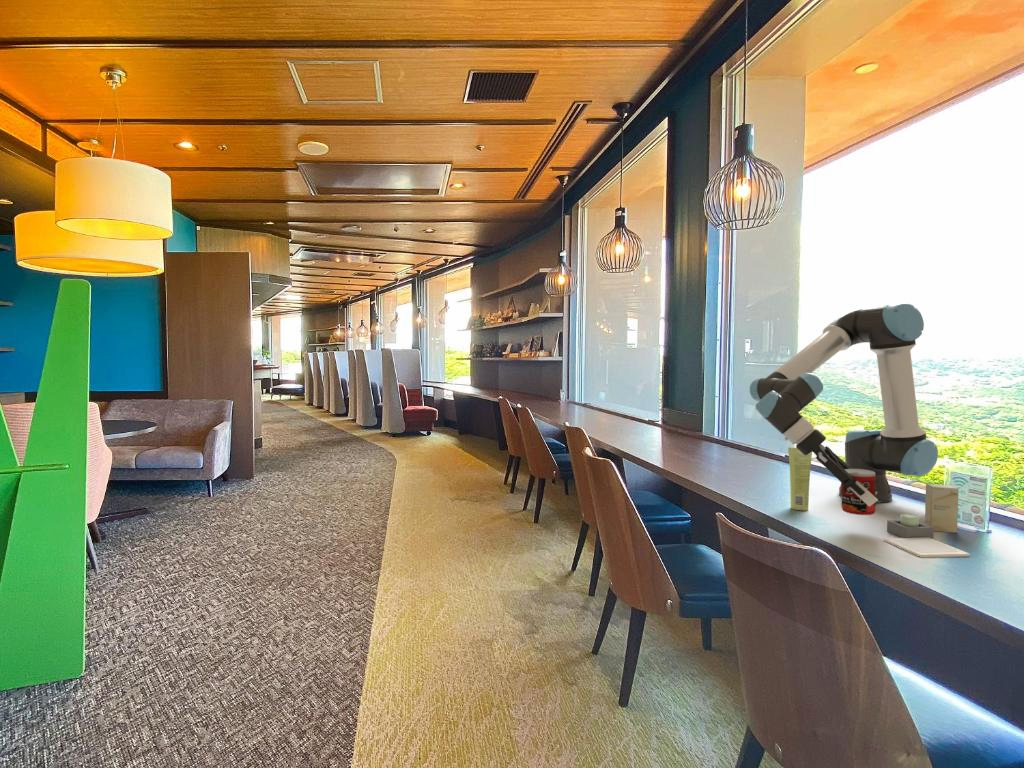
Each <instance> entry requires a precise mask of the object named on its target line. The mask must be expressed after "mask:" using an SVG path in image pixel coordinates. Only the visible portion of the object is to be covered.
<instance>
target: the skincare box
mask: <svg viewBox="0 0 1024 768" xmlns="http://www.w3.org/2000/svg"><path fill="white" fill-rule="evenodd" d="M924 505H925V506H924V509H925V510H924V524H925V525H927V526H930V527H933V532H946V533H958V518H959V517H958V516H959V511H958V510H959V488H958V487H957V486H954V485H952V484H939V483H938V484H935V483H925V504H924Z"/></svg>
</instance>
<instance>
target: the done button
mask: <svg viewBox="0 0 1024 768" xmlns="http://www.w3.org/2000/svg"><path fill="white" fill-rule="evenodd" d="M899 520H900V524H901V525H904V526H906V527H919V523H920V517H919V516H917V515H913V514H904V513H903V514H900V518H899Z"/></svg>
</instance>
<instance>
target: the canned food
mask: <svg viewBox="0 0 1024 768" xmlns="http://www.w3.org/2000/svg"><path fill="white" fill-rule="evenodd" d="M845 470H846V471H847V472H848V473H849V474H850V475H851V477H852V478H853V479H855V480H856V481H858V482H859V483H860V484H861V485H862V486H863V487H865V488H866V489H867V490H868V491H869V492H870V493H871V494H872V495H873V496H874V497H876V474H875V472H873V471H870V470H864V469H845ZM840 485H841V495H842V496H841V509H842V511H843V512H846V513H847V514H852V515H858V516H859V515H860V516H871V515H874V514H875V512H876V511H877V509H876V508H877V507H876V506H877V502H875V503H874V504H872V505H871V506H870V507H869V506H868V505H867V504H866V503H865V502H864V501H863V500H861V499H860V498H859V497H858V496H857V495H856V494H855V493H854V492H853V491H852V490H851V489H850V488H847V489H845V488H844V487H845V486H844V485H843V484H842V483H841V482H840Z"/></svg>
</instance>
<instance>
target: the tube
mask: <svg viewBox="0 0 1024 768" xmlns="http://www.w3.org/2000/svg"><path fill="white" fill-rule="evenodd" d="M787 450H788V459H789V460H788V461H789V462H788V463H789V481H790V482H789V483H790V488H789V489H790V508H791V509H792V510H794V511H796V510H797V511H808V510H809V498H810V479H811V478H810V477H811V466H812V454H813V452H810V453H809V454H808V455H804V454H803V453H802V452H801V451H800V450H798V449H797V448H796V447H788V449H787Z"/></svg>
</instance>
